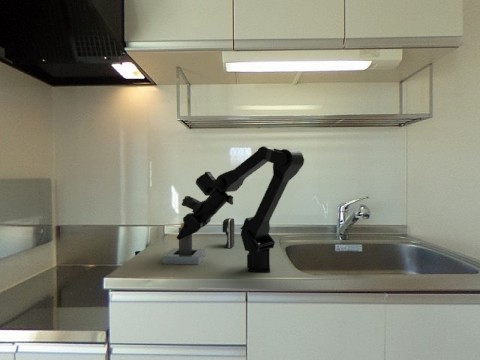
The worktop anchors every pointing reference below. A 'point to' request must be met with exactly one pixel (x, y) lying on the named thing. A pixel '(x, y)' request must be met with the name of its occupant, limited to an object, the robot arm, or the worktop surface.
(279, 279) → the worktop surface
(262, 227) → the robot arm
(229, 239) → the battery charger
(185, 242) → the plug
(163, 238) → the worktop surface
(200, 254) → the housing
